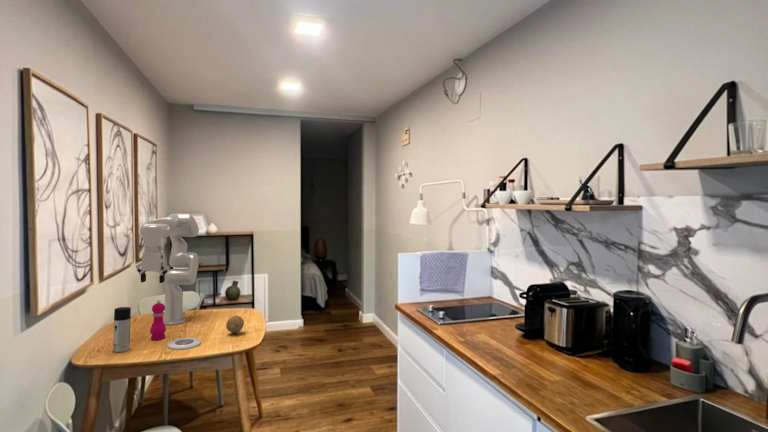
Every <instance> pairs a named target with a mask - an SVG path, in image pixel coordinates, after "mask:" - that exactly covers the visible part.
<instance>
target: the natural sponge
mask: <svg viewBox="0 0 768 432" xmlns="http://www.w3.org/2000/svg"><path fill="white" fill-rule="evenodd" d="M244 325H245V321H244V319H243V317H241V316H240V315H234V316H231V317H229V318H228V319H227V322H226V325H225V326H226V330H227V331H228V332H230V333H232V334H233V333H237V334H239V333H240V332H241V331H242V329H243V327H244Z"/></svg>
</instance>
